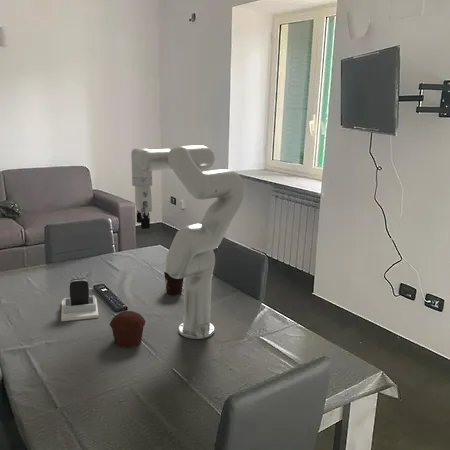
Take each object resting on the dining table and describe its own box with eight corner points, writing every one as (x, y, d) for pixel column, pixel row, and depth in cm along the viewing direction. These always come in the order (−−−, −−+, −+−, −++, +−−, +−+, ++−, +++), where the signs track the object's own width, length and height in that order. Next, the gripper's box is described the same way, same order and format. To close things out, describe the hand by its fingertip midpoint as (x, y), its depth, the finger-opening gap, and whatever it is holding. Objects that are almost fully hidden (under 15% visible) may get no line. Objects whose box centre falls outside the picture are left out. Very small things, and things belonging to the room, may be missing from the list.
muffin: (110, 351, 148) (109, 322, 145) (109, 334, 158) (108, 307, 155) (147, 347, 151) (147, 319, 148) (144, 331, 161) (144, 305, 159)
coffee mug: (183, 296, 191) (183, 274, 188) (162, 295, 191) (162, 273, 188) (186, 286, 202) (186, 264, 200) (166, 285, 202) (166, 263, 200)
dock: (98, 317, 170) (98, 308, 169) (61, 321, 166) (60, 312, 165) (95, 290, 194) (94, 282, 193) (62, 293, 190) (62, 284, 189)
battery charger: (89, 304, 178) (87, 276, 175) (89, 308, 175) (88, 280, 172) (70, 306, 176) (68, 278, 173) (70, 310, 172) (68, 281, 169)
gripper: (156, 184, 166) (157, 230, 171) (147, 178, 182) (148, 219, 186) (136, 185, 164) (137, 231, 168) (128, 178, 180) (129, 221, 184)
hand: (143, 225), depth 177 cm, fingers open, 9 cm apart
